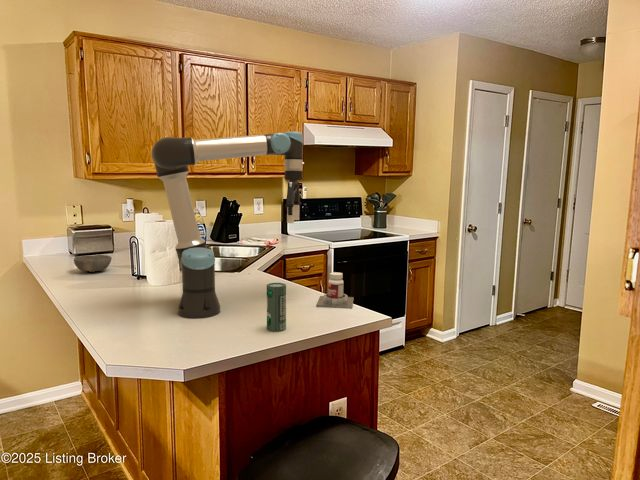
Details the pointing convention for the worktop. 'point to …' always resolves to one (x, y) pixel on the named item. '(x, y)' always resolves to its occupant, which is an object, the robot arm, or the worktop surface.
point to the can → (276, 307)
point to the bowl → (92, 262)
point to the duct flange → (335, 302)
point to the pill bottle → (335, 285)
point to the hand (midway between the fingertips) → (293, 221)
